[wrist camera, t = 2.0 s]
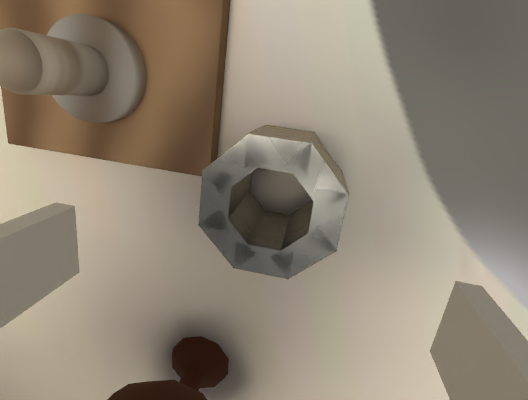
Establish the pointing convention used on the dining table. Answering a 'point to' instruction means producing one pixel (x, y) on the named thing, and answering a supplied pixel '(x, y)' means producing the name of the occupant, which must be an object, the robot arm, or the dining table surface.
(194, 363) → the ice cream bowl
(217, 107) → the shaft stand
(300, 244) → the ring
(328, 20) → the dining table surface
